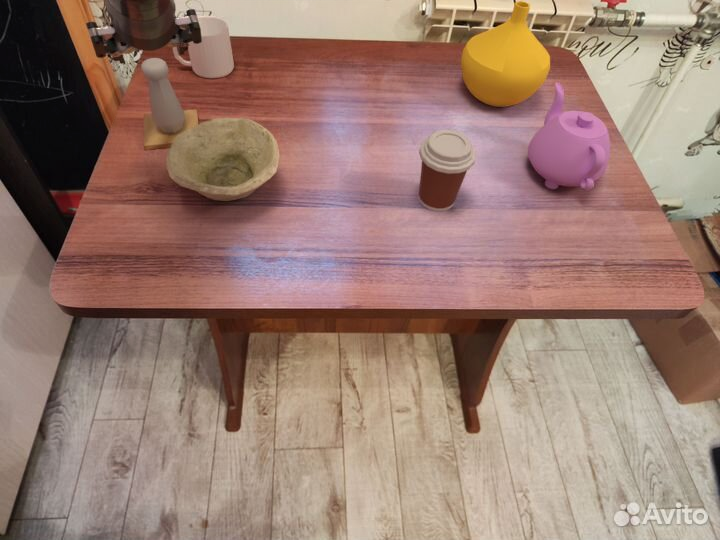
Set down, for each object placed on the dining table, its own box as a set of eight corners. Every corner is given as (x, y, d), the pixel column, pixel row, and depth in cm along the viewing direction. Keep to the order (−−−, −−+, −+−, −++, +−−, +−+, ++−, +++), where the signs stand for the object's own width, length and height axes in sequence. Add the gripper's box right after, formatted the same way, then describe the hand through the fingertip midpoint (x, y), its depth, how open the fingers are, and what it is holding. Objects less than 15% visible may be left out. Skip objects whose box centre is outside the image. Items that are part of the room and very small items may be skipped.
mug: (236, 58, 111) (230, 16, 104) (231, 79, 106) (224, 37, 98) (183, 56, 110) (173, 14, 103) (175, 77, 105) (163, 34, 98)
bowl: (277, 198, 90) (282, 204, 76) (175, 198, 86) (160, 205, 72) (275, 120, 87) (280, 111, 73) (169, 117, 83) (152, 107, 69)
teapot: (503, 139, 98) (523, 82, 88) (567, 134, 100) (593, 78, 91) (545, 209, 86) (574, 152, 76) (616, 201, 88) (653, 145, 79)
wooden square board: (145, 150, 90) (143, 145, 89) (145, 118, 95) (143, 114, 95) (201, 144, 92) (200, 139, 91) (197, 113, 97) (196, 109, 97)
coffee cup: (468, 191, 88) (486, 136, 78) (452, 223, 82) (468, 168, 73) (422, 175, 90) (433, 119, 80) (402, 205, 85) (412, 149, 75)
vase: (443, 74, 112) (462, -15, 97) (517, 70, 115) (546, -17, 100) (469, 121, 101) (495, 29, 86) (550, 115, 104) (588, 25, 89)
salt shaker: (183, 137, 91) (165, 72, 81) (152, 135, 91) (130, 69, 81) (190, 118, 95) (174, 54, 84) (160, 117, 94) (140, 52, 84)
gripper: (192, -34, 59) (191, 20, 74) (64, -22, 55) (91, 33, 70) (210, 30, 60) (205, 70, 76) (87, 47, 56) (108, 86, 71)
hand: (150, 52), depth 73 cm, fingers open, 8 cm apart
